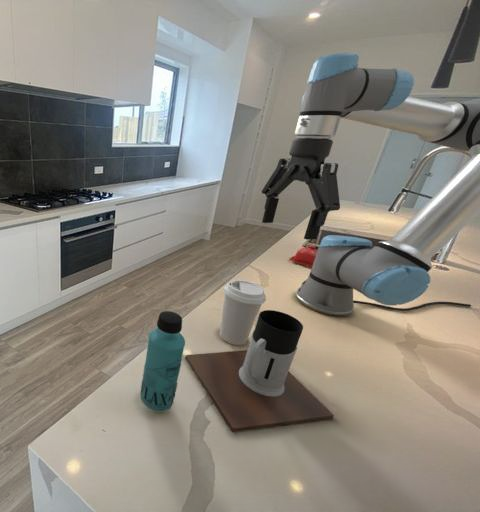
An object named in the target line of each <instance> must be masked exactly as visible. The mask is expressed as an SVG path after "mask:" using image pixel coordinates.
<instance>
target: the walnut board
mask: <svg viewBox="0 0 480 512" xmlns="http://www.w3.org/2000/svg"><path fill="white" fill-rule="evenodd" d="M247 351H248V349H245V350H232V351H231V350H230V351H220V352H219V351H218V352H209V353H207V352H205V353H195V354H185V358H184V359H185V361H186V362H187V364H188V365H189V367H190V369H191V370H192V372H193V373H194V375H195V376H196V378H197V379H198V381H199V382H200V384H201V386H202V387H203V388H204V390H205V392H206V393H207V395H208V396H209V398H210V400H211V402H212V403H213V404H214V406H215V408H216V409H217V411H218V413H219V414H220V416H221V417H222V419H223V420H224V422H225V424H226V425H227V426H228V428H229V430H230V431H231V432H232V433H236V432H244V431H252V430H259V429H267V428H275V427H281V426H289V425H295V424H296V425H297V424H305V423H312V422H320V421H326V420H327V421H328V420H332V419H333V418H334V416H335V415H334V414H333V412H331V411H330V410H329V408H328V407H326V405H324V403H322V402H321V401H320V400H319V399H318V398H317V396H315V395H314V394H313V393H312V392H311V391H310V390H308V388H307V387H305V385H303V384H302V382H300V380H299V379H297V377H295V376H294V375H293V374H292V373H291V372H290V370H289V371H288V374H287V377H286V379H285V382H284V388H285V389H284V392H283V394H281V395H279V396H273V397H271V396H265V395H262V394H259V393H257V392H255V391H253V390H251V389H250V388H249V387H247V386H246V385H245V384H244V383H243V382H242V380H241V379H240V377H239V370H240V368H241V367H242V366H243V364H244V361H245V357H246V354H247Z"/></svg>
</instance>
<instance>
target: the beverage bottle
mask: <svg viewBox="0 0 480 512" xmlns="http://www.w3.org/2000/svg"><path fill="white" fill-rule="evenodd" d="M182 328H183V317H182V316H181V315H180V314H178V313H177V312H174V311H171V310H170V311H169V310H168V311H167V310H166V311H161V312H160V313H159V314H158V319H157V321H156V327H155V328H153V329H152V330H151V331H150V332H149V333H148V342H147V348H146V349H147V350H146V355H145V362H144V365H143V370H142V379H141V386H140V392H139V396H140V399H141V402H142V403H143V405H144V406H145V407H146V408H147V409H150V410H151V411H154V412H166V411H168V410H169V409H170V408H171V407H172V406H173V405H174V400H175V399H176V392H177V389H178V388H177V387H178V380H179V376H180V375H179V374H180V372H181V367H182V361H183V359H182V358H183V353H184V348H185V346H186V339H185V338H184V336H183V334H182V333H181V331H182V330H183V329H182Z"/></svg>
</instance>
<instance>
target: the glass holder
mask: <svg viewBox="0 0 480 512" xmlns="http://www.w3.org/2000/svg"><path fill="white" fill-rule="evenodd" d="M303 330H304V325H303V324H302V322H301V321H300V320H299V319H297V318H296V317H295V316H292V315H290V314H288V313H286V312H283V311H280V310H279V311H278V310H273V309H265V310H262V311H259V313H258V316H257V320H256V324H255V327H254V330H253V332H252V333H251V337H250V341H249V344H248V348H247V350H248V351H247V354H246V357H245V361H244V364H243V366H242V367H241V368H240V370H239V377H240V379H241V380H242V382H243V383H244V384H245V385H246V386H247V387H249V388H250V389H251V390H253V391H255V392H257V393H259V394H262V395H265V396H271V397H273V396H279V395H281V394H283V392H284V389H285V388H284V382H285V379H286V377H287V374H288V371H289V372H290V368H291V366H292V364H293V360H294V357H295V355H296V352H297V350H298V343H299V341H300V339H301V335H302V333H303Z"/></svg>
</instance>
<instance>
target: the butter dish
mask: <svg viewBox="0 0 480 512" xmlns="http://www.w3.org/2000/svg"><path fill="white" fill-rule="evenodd" d="M317 251H318V249H316V245H314V244H309V245H308V247H300V248H299V249H298V250H297V251H296V253H295V255H292V256H291V257H290V258H289V259H288V260H289V261H291V262H294V263H296V264H298V265H302V266H305V267H308V268H312V266H313V263H314V260H315V257H316V254H317Z"/></svg>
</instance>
